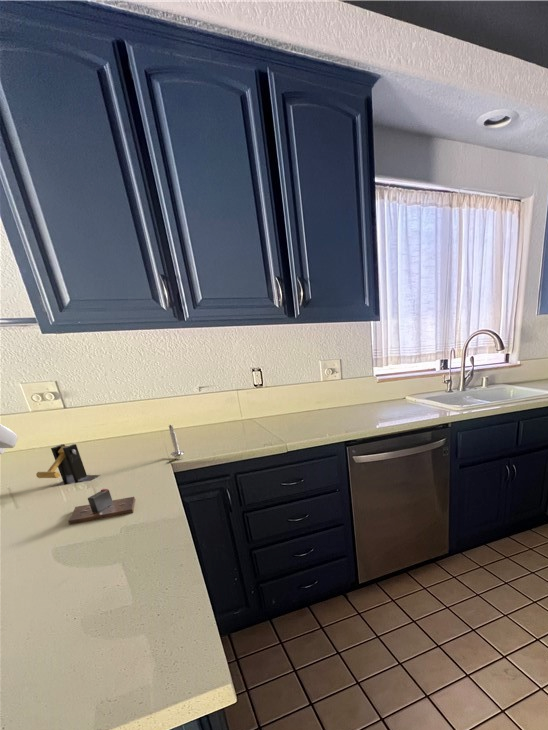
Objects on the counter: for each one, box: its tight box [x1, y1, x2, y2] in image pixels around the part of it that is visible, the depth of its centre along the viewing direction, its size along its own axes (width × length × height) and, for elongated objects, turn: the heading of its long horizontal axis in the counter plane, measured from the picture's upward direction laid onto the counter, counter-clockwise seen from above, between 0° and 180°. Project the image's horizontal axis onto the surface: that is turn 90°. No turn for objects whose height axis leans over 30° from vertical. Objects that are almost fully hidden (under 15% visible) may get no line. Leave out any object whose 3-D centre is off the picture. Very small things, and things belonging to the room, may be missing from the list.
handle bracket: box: [50, 443, 101, 488], centre depth 137 cm, size 11×9×13 cm
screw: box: [168, 424, 185, 461], centre depth 159 cm, size 13×5×5 cm
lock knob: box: [87, 488, 113, 512], centre depth 111 cm, size 6×2×4 cm, turn 175°
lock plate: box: [68, 496, 136, 526], centre depth 112 cm, size 14×10×3 cm
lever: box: [35, 445, 68, 479], centre depth 132 cm, size 12×6×2 cm, turn 175°
